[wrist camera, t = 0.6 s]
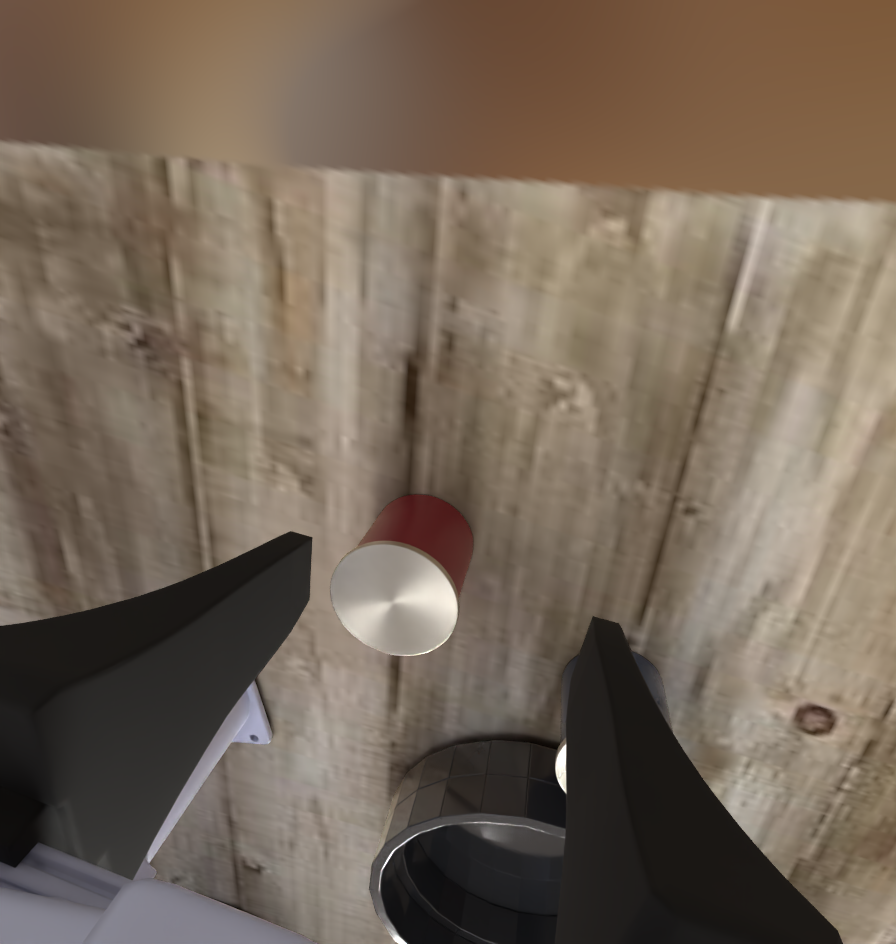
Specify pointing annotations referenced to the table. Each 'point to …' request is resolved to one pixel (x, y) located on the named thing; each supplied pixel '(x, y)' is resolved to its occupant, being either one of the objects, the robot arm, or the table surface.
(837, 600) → the table surface
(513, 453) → the table surface
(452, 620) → the disc
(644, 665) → the cylinder
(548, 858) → the bowl
